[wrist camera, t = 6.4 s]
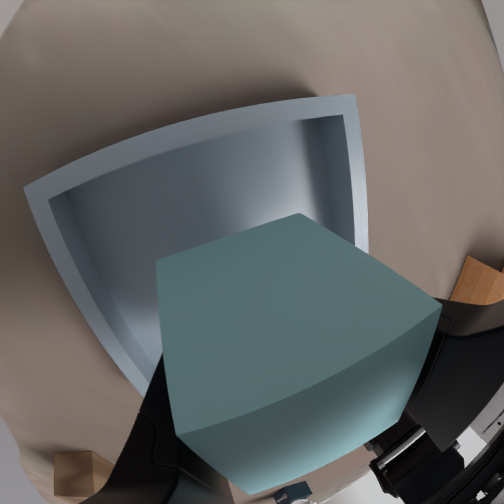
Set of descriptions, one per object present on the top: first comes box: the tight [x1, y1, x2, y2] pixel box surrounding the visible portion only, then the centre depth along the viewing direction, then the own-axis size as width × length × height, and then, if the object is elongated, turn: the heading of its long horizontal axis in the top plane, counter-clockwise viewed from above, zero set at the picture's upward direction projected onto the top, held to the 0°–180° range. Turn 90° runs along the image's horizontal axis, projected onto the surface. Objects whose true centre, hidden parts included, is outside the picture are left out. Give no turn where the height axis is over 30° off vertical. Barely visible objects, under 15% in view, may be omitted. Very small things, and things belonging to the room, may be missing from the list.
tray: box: [23, 94, 368, 398], centre depth 12 cm, size 13×13×2 cm
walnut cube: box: [54, 451, 115, 504], centre depth 14 cm, size 5×5×5 cm
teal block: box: [156, 213, 443, 495], centre depth 7 cm, size 5×5×6 cm
